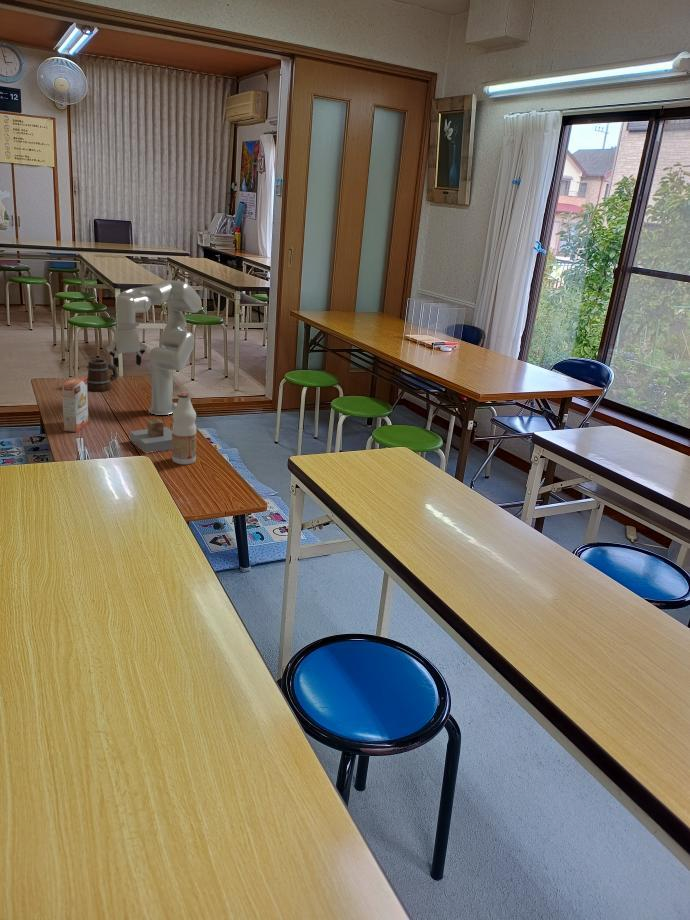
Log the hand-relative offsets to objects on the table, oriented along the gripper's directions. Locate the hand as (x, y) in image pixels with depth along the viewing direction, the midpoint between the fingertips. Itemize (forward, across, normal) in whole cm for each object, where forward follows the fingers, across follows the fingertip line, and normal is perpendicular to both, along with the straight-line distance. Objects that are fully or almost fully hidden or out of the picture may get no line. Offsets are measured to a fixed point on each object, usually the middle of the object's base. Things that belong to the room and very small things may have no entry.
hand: (127, 365), depth 292 cm
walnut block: (+24, -2, +25) cm, 35 cm away
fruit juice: (+28, -5, +46) cm, 54 cm away
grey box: (+29, -2, +25) cm, 38 cm away
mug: (+29, -10, -63) cm, 70 cm away
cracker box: (+28, +20, -9) cm, 36 cm away
